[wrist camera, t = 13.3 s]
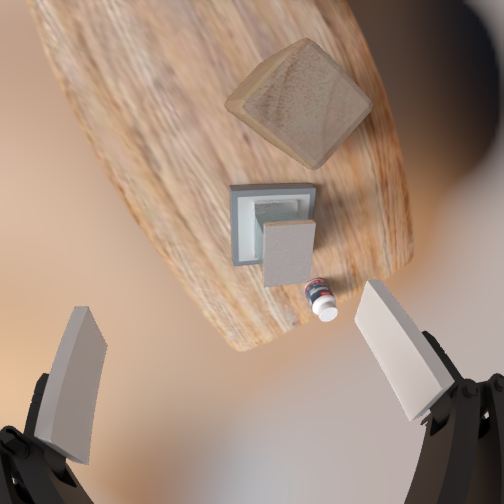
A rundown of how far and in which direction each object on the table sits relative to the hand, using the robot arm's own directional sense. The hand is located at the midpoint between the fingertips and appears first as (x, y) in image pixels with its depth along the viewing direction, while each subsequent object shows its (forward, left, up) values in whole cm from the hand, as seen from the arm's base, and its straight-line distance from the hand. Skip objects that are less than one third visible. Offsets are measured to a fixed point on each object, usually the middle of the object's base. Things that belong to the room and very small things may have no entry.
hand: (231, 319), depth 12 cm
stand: (+12, +10, -35) cm, 38 cm away
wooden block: (-9, +9, -35) cm, 37 cm away
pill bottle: (+29, +21, -35) cm, 50 cm away
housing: (+12, +10, -31) cm, 35 cm away
